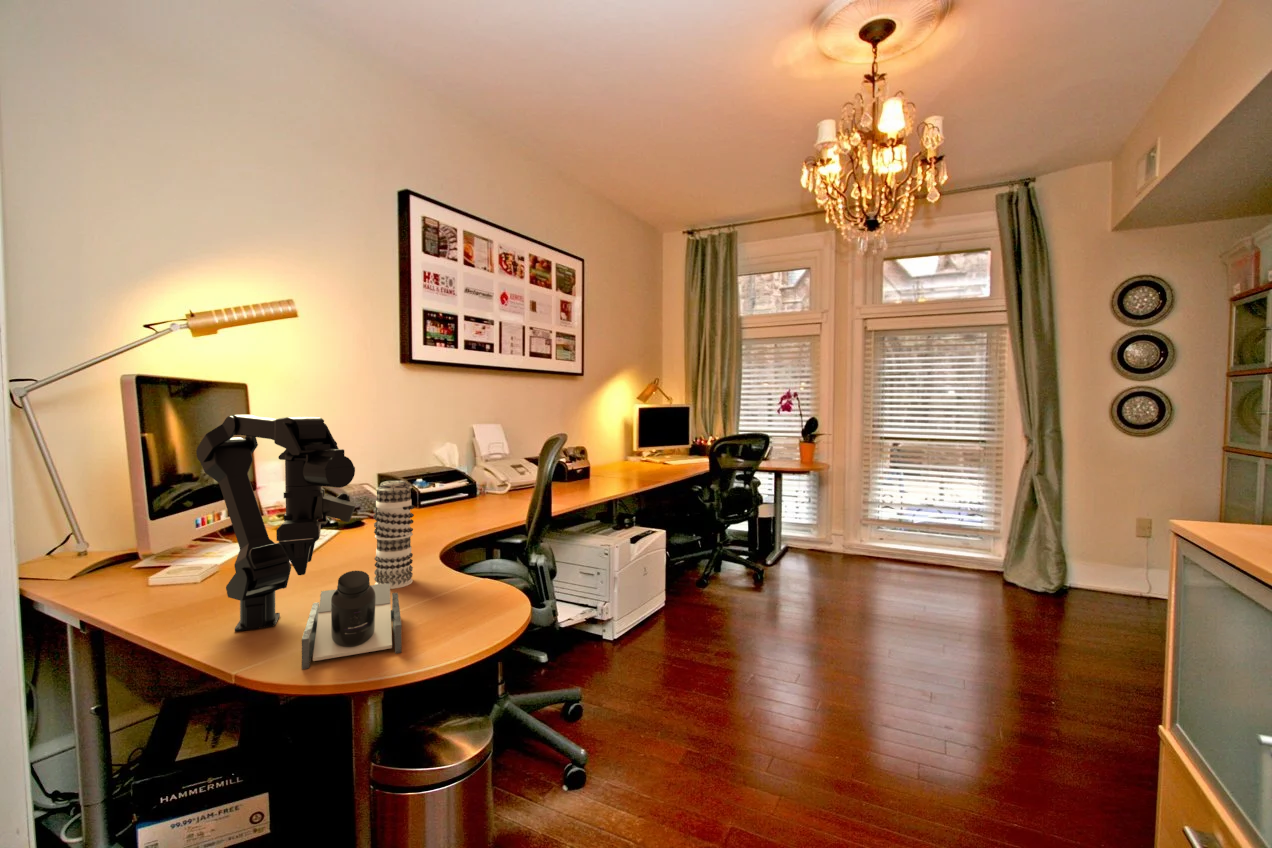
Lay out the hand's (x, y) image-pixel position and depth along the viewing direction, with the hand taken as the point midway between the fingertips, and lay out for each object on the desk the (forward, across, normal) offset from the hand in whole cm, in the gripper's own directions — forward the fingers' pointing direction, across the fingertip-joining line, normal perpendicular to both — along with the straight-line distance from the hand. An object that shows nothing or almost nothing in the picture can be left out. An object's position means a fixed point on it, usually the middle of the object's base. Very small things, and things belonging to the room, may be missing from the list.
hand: (304, 568), depth 100 cm
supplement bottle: (+11, -9, -8) cm, 16 cm away
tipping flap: (+11, -4, -8) cm, 15 cm away
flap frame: (+13, -5, -8) cm, 16 cm away
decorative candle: (+13, +27, -16) cm, 34 cm away
